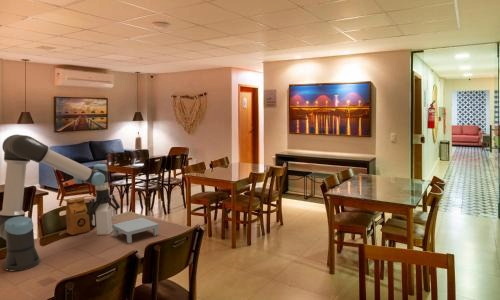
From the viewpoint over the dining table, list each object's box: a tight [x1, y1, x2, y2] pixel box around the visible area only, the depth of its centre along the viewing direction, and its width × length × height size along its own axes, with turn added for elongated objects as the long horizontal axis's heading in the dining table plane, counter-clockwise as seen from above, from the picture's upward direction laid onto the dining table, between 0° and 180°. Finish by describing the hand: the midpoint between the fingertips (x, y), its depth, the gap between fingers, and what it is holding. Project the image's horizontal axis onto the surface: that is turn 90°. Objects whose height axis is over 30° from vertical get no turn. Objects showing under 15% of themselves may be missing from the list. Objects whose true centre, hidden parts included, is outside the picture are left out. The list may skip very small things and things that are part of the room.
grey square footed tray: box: [112, 217, 160, 244], centre depth 222 cm, size 20×20×7 cm
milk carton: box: [95, 203, 114, 236], centre depth 227 cm, size 7×7×19 cm
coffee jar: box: [88, 196, 97, 227], centre depth 246 cm, size 11×11×18 cm
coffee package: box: [65, 197, 91, 236], centre depth 229 cm, size 10×12×22 cm
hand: (104, 222), depth 228 cm, fingers open, 13 cm apart
